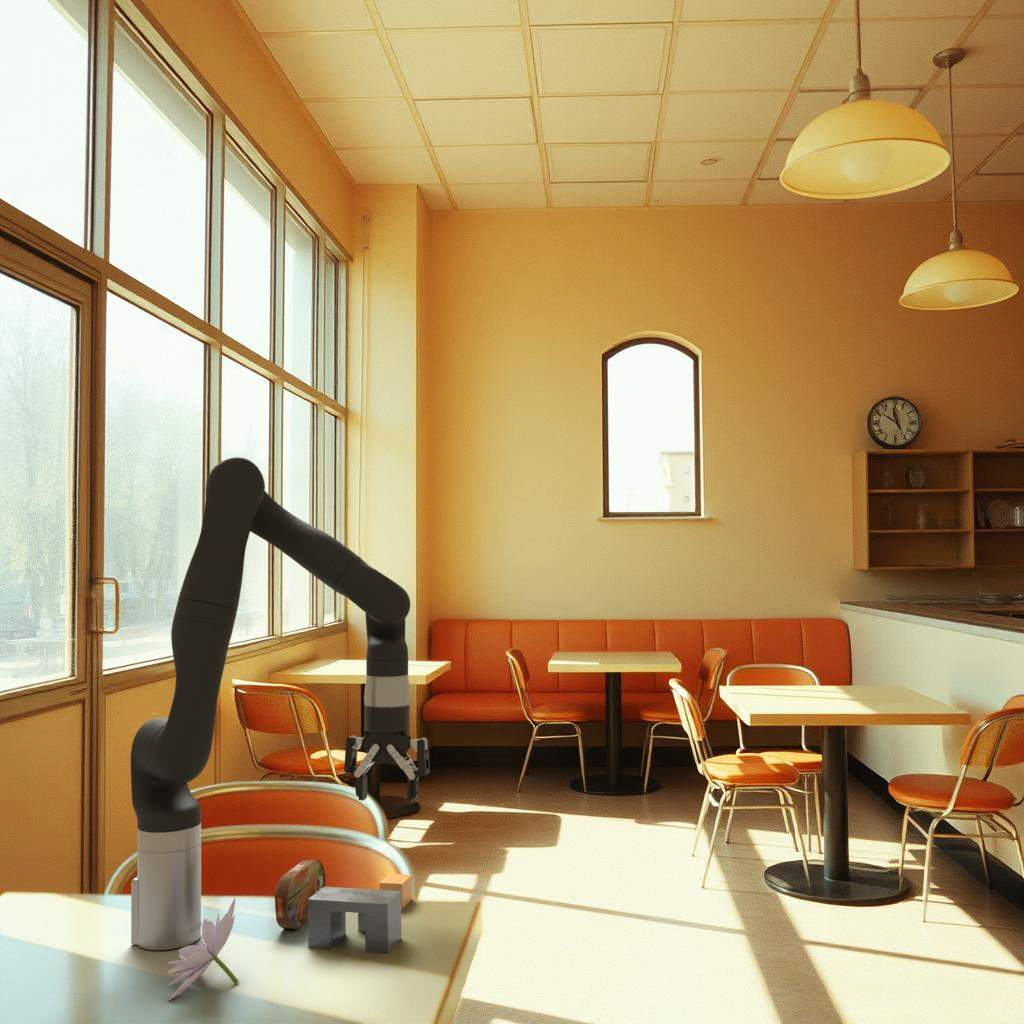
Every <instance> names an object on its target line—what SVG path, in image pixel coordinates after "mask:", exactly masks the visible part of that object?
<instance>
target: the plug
mask: <svg viewBox="0 0 1024 1024" xmlns="http://www.w3.org/2000/svg"><path fill="white" fill-rule="evenodd" d="M378 884H379V885H378V886H379V887H378V890H392V891H401V910H402V909H404V908H405V907H406V906H407V905H408V904H409V903H410V902H411V901H412V900H413V875H412V874H405V873H401V874H400V873H389V874H387V875H386V876H385V877H384V878H383V879H381V880H380V881H379V882H378ZM357 931H358V932H365V913H357Z"/></svg>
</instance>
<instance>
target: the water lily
mask: <svg viewBox="0 0 1024 1024" xmlns="http://www.w3.org/2000/svg"><path fill="white" fill-rule="evenodd" d="M236 898H237V897H234V898H233V901H232V902H231V904H230V907H229V909H228V911H227V912H226V913H225V914H224V915H223V917H222V918H221V919H220V913H219V912H218V913H217V917H216V921H215V924H214V922H213V921H212V920H207V919H206V918H204V919H203V922H202V923H201V936H202V940H203V941H201V940H200V943H201V944H202V945H203V946H202V945H201V944H200V943H198V944H195V945H191V944H190V945H186V946H183V947H180V949H178V954H179V955H178V957H179V958H181V959H178V960H171V961H168V962H167V964H169V965H176V966H174V967H173V968H172V969H170V970H169V971H167V972H166V974H170V975H171V974H172V975H173V974H175V975H176V974H180V973H182V974H181V975H179V976H178V977H177V978H176V979H174V980H172V981H171V982H169V984H168V986H171V985H174V984H176V983H179V982H182V981H183V980H185V979H186V980H185V981H184V982H183V983H182V984H181V985H180V986H179V987H178V988H177V989H176V991H175V992H174V993H173V994H171V996H170V998H168V1000H167V1001H166V1003H167V1002H170V1001H171V1000H173V999H174V998H175V997H177V996H179V995H181V993H182V992H184V991H185V990H187V989H188V988H189V987H191V985H192V984H193V983H194V982H196V981H197V980H198V979H199V978H200V977H201V975H203V973H204V972H205V971H206V970H207V969H208V968H209V966H210V965H211V963H212V962H215V963H216V964H217V965H218V966H219V967H220V968H221V969H222V970H223V971H224V972H225V973H226V975H227V976H228V977H229V978H230V980H231V982H232V983H233V985H235V984H236V985H237V984H238V983H239V982H240V980H239V979H238V978H237V977H236V975H235V974H234V973H233V972H232V971H231V970H230V969H229V967H227V965H226V964H225V963H224V962H223V961H222V960H221V959H220V958H219V957H218V955H219V954H220V952H221V951H222V949H223V948H224V946H225V944H226V943H227V941H228V940H229V939H228V938H230V936H231V932H232V929H233V926H234V924H235V923H234V921H235V915H236V914H235V913H234V911H235V905H236ZM203 942H204V943H203Z"/></svg>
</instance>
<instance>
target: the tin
mask: <svg viewBox="0 0 1024 1024" xmlns="http://www.w3.org/2000/svg"><path fill="white" fill-rule="evenodd" d="M326 884H327V882H326V872H325V867H324V864H323V862H322V861H321V860H319V859H310V860H309V859H307V860H302V861H300V862H299V863H297V864H296V865H295V866H293V867H292V868H290V869H289V870H288V871H287V872H286V873H285V874H283V875H282V876H281V877H280V878H279V880H278V882H277V883H276V887H275V891H274V908H275V910H274V911H275V920H276V923H277V925H278V926H279V927H280V928H281V929H285V930H286V929H287V930H292V929H293V930H300V929H301V928H302V927H304V925H305V924H307V923H308V899H309V898H310V897H311V896H313V895H314V894H315V893H317V892H318V891H319V890H320V889H322V888H323V887H327V886H326ZM299 928H300V929H299Z"/></svg>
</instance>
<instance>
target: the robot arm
mask: <svg viewBox="0 0 1024 1024" xmlns="http://www.w3.org/2000/svg"><path fill="white" fill-rule="evenodd" d="M204 503H205V504H204V510H203V517H202V523H201V529H200V533H199V537H198V541H197V543H196V547H195V549H194V551H193V555H192V556H191V559H190V562H189V565H188V568H187V569H186V570H187V571H186V574H185V575H184V579H183V582H182V585H181V588H180V592H179V594H178V598H177V601H176V607H175V610H174V615H173V620H172V623H171V631H170V632H171V633H170V634H171V635H170V637H171V639H170V640H171V649H172V656H173V663H174V669H175V670H174V672H175V686H174V687H175V689H174V694H173V699H172V701H171V706H170V710H169V713H168V716H167V717H155V718H152V719H149V720H147V721H146V722H145V723H143V724H142V725H141V726H140V727H139V729H138V730H137V731H136V733H135V735H134V738H133V740H132V744H131V748H130V782H131V783H130V784H131V785H130V786H131V788H130V789H131V802H132V807H133V810H134V813H135V815H136V822H137V825H136V826H137V840H136V841H137V846H136V847H137V865H136V866H137V872H136V873H137V875H136V877H134V878H132V880H131V882H130V883H131V885H130V886H131V889H130V890H131V894H130V895H131V896H130V899H131V901H130V902H131V904H130V909H131V910H130V914H131V915H130V916H131V917H130V919H131V921H130V924H131V925H130V926H131V928H130V944H131V945H136V946H138V947H139V948H141V949H144V950H151V951H165V950H166V951H168V950H173V949H174V950H175V949H179V948H183V947H186V946H190V945H191V944H193V943H195V942H197V941H198V940H199V939H201V936H202V808H201V805H200V803H199V802H198V800H197V798H195V797H194V795H193V794H192V792H191V790H190V787H189V784H188V783H190V782H192V781H194V780H195V779H196V778H197V777H198V776H199V775H201V773H202V772H203V771H204V769H205V767H206V766H207V764H208V762H209V759H210V755H211V751H212V747H213V741H214V732H215V722H216V715H217V709H218V708H217V706H218V699H219V693H220V688H221V683H222V678H223V674H224V670H225V665H226V661H227V660H226V659H227V655H228V652H229V651H228V650H229V645H230V643H231V642H230V641H231V639H232V634H233V632H234V631H233V630H234V626H235V623H236V622H235V621H236V618H237V613H238V611H239V610H238V608H239V603H240V598H241V592H242V591H241V590H242V584H243V575H244V567H245V555H246V550H247V549H246V548H247V545H248V540H249V536H250V533H252V534H254V535H256V536H257V537H259V538H260V539H262V540H264V541H266V542H267V543H269V544H270V545H272V546H273V547H275V548H276V549H278V550H279V551H281V553H283V554H285V555H286V556H288V557H289V558H290V559H291V560H293V561H294V562H296V563H297V564H298V565H300V567H302V568H303V569H305V571H308V572H309V573H310V574H311V575H313V576H314V577H315V578H316V579H318V580H319V581H320V582H322V583H323V584H325V586H327V587H329V588H330V589H332V590H333V591H335V592H336V593H337V594H339V595H341V596H344V597H346V598H347V599H349V600H350V601H351V603H353V604H355V605H356V606H357V607H358V608H359V609H361V610H362V611H363V612H364V613H365V627H366V637H367V648H366V659H365V660H366V668H365V669H366V673H365V674H366V676H365V686H364V696H363V702H364V735H363V737H360V736H357V735H355V734H353V735H351V736H349V737H346V739H345V753H344V767H343V771H344V773H345V774H351V775H353V776H354V778H355V795H356V797H358V801H366V799H367V798H368V775H366V774H367V772H368V771H369V770H370V768H371V766H373V764H374V763H375V765H383V764H387V765H391V766H392V765H393V766H394V765H396V764H397V765H398V767H399V768H400V769H401V770H402V771H403V772H404V774H405V775H406V776H407V778H408V779H407V780H406V782H407V784H406V787H407V789H406V790H407V792H406V793H407V794H406V798H407V803H414V802H415V801H416V799H417V798H418V797H419V787H420V783H419V782H420V781H419V780H420V778H421V777H424V776H426V775H427V774H429V773H430V771H431V769H430V768H431V764H430V763H431V762H430V747H429V746H430V745H429V739H428V738H427V737H421V738H413V739H412V738H411V735H410V726H411V725H410V721H411V720H410V717H411V716H410V711H411V707H410V705H411V703H410V702H411V699H410V698H411V697H410V693H411V691H410V690H411V689H410V681H409V649H408V645H407V641H406V618H407V617H408V615H409V613H410V609H411V599H410V596H409V594H408V592H407V591H406V590H405V589H404V588H403V587H402V586H401V585H399V584H398V583H397V582H396V581H394V580H392V579H391V578H389V577H388V576H386V575H385V574H383V573H381V572H380V571H379V570H377V569H375V568H374V567H372V566H370V565H369V564H368V563H367V562H366V561H365V560H364V559H362V558H361V557H360V556H359V555H358V554H356V553H355V552H354V551H352V550H351V549H350V548H349V547H348V546H346V545H345V544H343V543H342V542H340V541H339V540H338V539H336V538H334V537H333V536H331V535H330V534H328V533H327V532H325V531H323V530H321V529H319V528H318V527H315V526H313V525H311V524H310V523H307V522H306V521H304V520H303V519H301V518H299V517H298V516H295V515H294V514H292V513H291V512H289V511H288V510H286V509H285V508H284V507H283V506H281V505H280V504H279V503H278V502H277V501H276V500H275V499H274V498H273V497H272V496H271V495H269V493H268V492H267V491H266V485H265V479H264V476H263V474H262V472H261V471H260V469H259V467H258V466H257V465H256V463H254V462H253V461H251V460H250V459H248V458H245V457H241V456H232V457H228V458H225V459H224V460H221V461H220V462H218V463H217V464H216V465H215V466H214V467H213V468H212V469H211V470H210V472H209V474H208V475H207V479H206V484H205V502H204ZM361 745H362V747H363V748H364V750H365V751H366V755H365V756H364V757H363V759H362V760H361V762H360V763H359V766H358V765H357V762H358V761H357V760H358V750H359V749H360V748H361ZM411 747H413V750H414V752H415V753H417V754H416V755H417V767H416V765H415V763H414V760H413V759H412V757H411V756H410V755H409V753H408V752H409V750H410V748H411Z"/></svg>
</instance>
